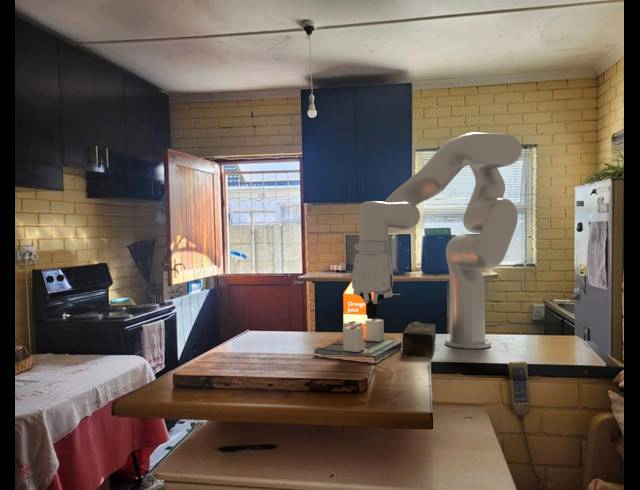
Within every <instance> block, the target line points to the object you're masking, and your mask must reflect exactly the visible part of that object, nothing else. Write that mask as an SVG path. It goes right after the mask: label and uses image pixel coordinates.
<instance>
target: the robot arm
mask: <svg viewBox="0 0 640 490" xmlns="http://www.w3.org/2000/svg"><path fill="white" fill-rule="evenodd" d="M521 156H522V145H521V143H520V141H519V139H518V138H517V137H515V136H514V135H512V134H508V133H495V132H493V133H491V132H469V133H466V134H462V135H460V136H457V137H454V138H451V139H449V140H447V141H446V142H444V144H443V145H441V147H440V148H438V150H437V151H436V152H435V153H434V154H433V156H431V158H430V159H429V160H428V161H427V162H426V163H425V164H423V166H422V168H420V169H419V170H418V171H417V172H416V173H415V174H413V175H412V176H411V177H410V178H408V180H406V181H405V182H404V183H403V184H401V185H400V186H398V188H396V189H395V190H394V191H393V192H392V193H391V194H390V195H389V196H388V197H387V198H386V199H385V200H384V201H380V200H379V201H377V200H371V201H364V202H362V203H361V204H360V207H359V237H358V238H359V241H358V243H355V244H354V249H355V250H358V253H355V257H354V261H353V267H352V277H351V282H352V288H353V289H354V291H353V294H354V295H357V296H361V298H362V299H363V300H364V302H365V303H366V315H367V319H378V316H379V315H380V313H379V312H380V309H379V308H380V303H381V302H382V301H383V300H384V299H386V298H391V297H393V296H394V294H393V289H394V274H393V265H392V257H391V254H390V253H389V232H395V231H397V232H398V231H408V230H411V229H413V228H415V227H416V226H417V225H418V223H419V222H420V219H421V213H420V210H419V208H418V205H420V204H422V203H423V202H424V201H428V200H429V199H432V198H434V197H435V196H437V195H439V194H440V193H442V192H443V191H444V190H445V189H446V187H448V185H450V183H451V181H453V179H454V178H455V177H456V176H457V175H458V174H459V173H460V172H461V171H462V169H464V168H465V167H468V166H469V167H470V169H471V171H472V174H473V176H474V180H475V185H474V188H473V192H472V194H471V196H470V199H469V202H468V204H467V206H466V209H465V211H464V215H463V218H462V219H463V220H462V222H463V226H464V228H465V229H466V230H467V231H468V232H470V233H467V234H466V233H465V234H464V233H463V234H459V235H455V236H454V237H452V238H451V239H449V241H448V243H447V245H446V248H445V257H446V262H447V267H448V274H449V335H450V336H449V337H446V338H445V339H444V345H446V346H448V347H453V348H458V349H465V350H466V349H467V350H469V349H471V350H476V349H478V350H480V349H485V348H486V349H487V348H490V347H491V346H492V342H491V341H490V340H489V339H487V338H486V319H485V317H486V313H485V311H486V310H485V309H486V308H485V306H486V305H485V301H486V300H485V297H486V296H485V290H486V289H485V287H486V286H485V279H484V276H483V273H482V270H481V269H493V268H496V267H497V266H499V265H500V264H501V263H502V262H503V260H504V259H505V257H506V255H507V253H508V250H509V247H510V244H511V243H512V242H511V241H512V238H513V236H514V233H515V231H516V227H517V224H518V221H519V220H518V217H519V215H518V209H517V207H516V205H515V204H514V202H513V201H512V200H510V199H508V198H504V196H505V194H506V193H505V192H506V183H505V180H504V178H503V177H502V175H501V172H500V171H499V168H504V167H507V166H511V165H513V164H514V163H515V164H516V162H518V160H519V159H520V157H521ZM388 253H389V254H388ZM372 292H374V296H373V301H372Z"/></svg>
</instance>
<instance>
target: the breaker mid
mask: <svg viewBox="0 0 640 490" xmlns="http://www.w3.org/2000/svg"><path fill="white" fill-rule="evenodd" d="M349 326H351V327H353V326H357V327H362V323H361V322H356V321H352V322H346V323H344V322H343V323H342V329H343V328H346V327H349Z"/></svg>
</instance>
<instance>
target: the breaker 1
mask: <svg viewBox="0 0 640 490" xmlns="http://www.w3.org/2000/svg"><path fill="white" fill-rule="evenodd" d="M342 337H343V350H344V351H353V352H359V351H361V350H363V349H364V328H363V327H357V326H353V327H351V326H349V327H346V328H343V327H342Z"/></svg>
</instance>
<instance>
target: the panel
mask: <svg viewBox="0 0 640 490" xmlns="http://www.w3.org/2000/svg"><path fill="white" fill-rule="evenodd" d="M402 346H403V341H401V340H398V341H397V340H394V339H393V340H391V339H389V340H388V339H387V340H386V339H385V338H384V339H383V340H381V341H379V342H377V341H367V340H366V338H364V349H363V350H361V351H359V352H353V351H344V350H343V336H342V337H339V338H337V339H335V340H331V341H329V342H327V343H324V344H322V345H319V346H317V347H316V348H314V349H313V350H314V354H321V355H345V356H365V357H372V358H374V360H375V362H376V361H378V360H380V359H381V358H384V357H385V356H387V355H389V354H391V353H393V352H395V351H397V350H399V349H400V348H402ZM399 351H400V350H399ZM397 352H398V351H397ZM314 354H313V355H314Z"/></svg>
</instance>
